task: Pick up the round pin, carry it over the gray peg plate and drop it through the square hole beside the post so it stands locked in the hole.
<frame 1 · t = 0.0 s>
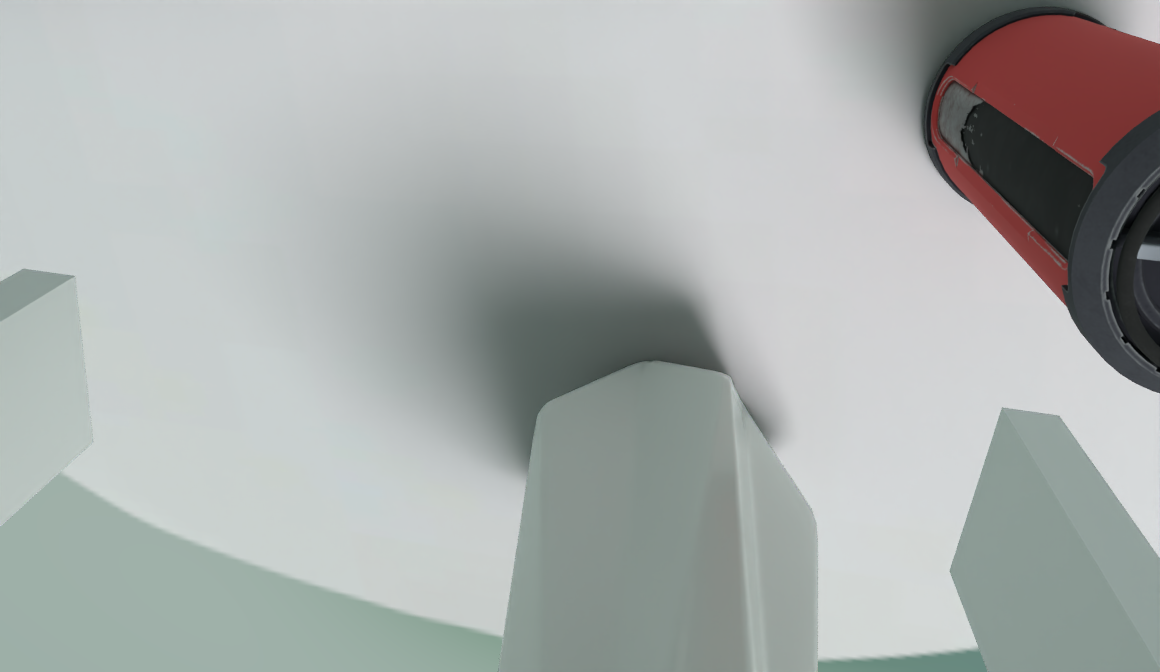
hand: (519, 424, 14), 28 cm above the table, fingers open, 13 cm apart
speaker: (1022, 108, 39), on the table
vase: (668, 424, 46), on the table
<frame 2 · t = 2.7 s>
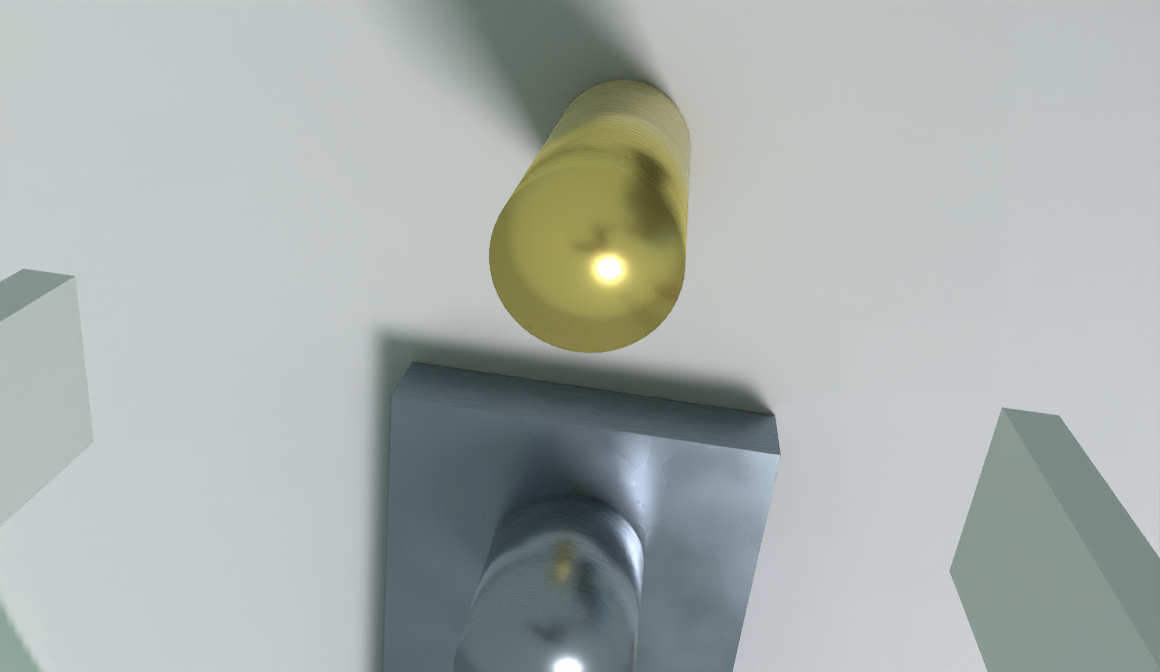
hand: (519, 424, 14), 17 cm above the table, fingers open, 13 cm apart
round pin: (622, 148, 29), on the table
gray peg plate: (576, 515, 35), on the table
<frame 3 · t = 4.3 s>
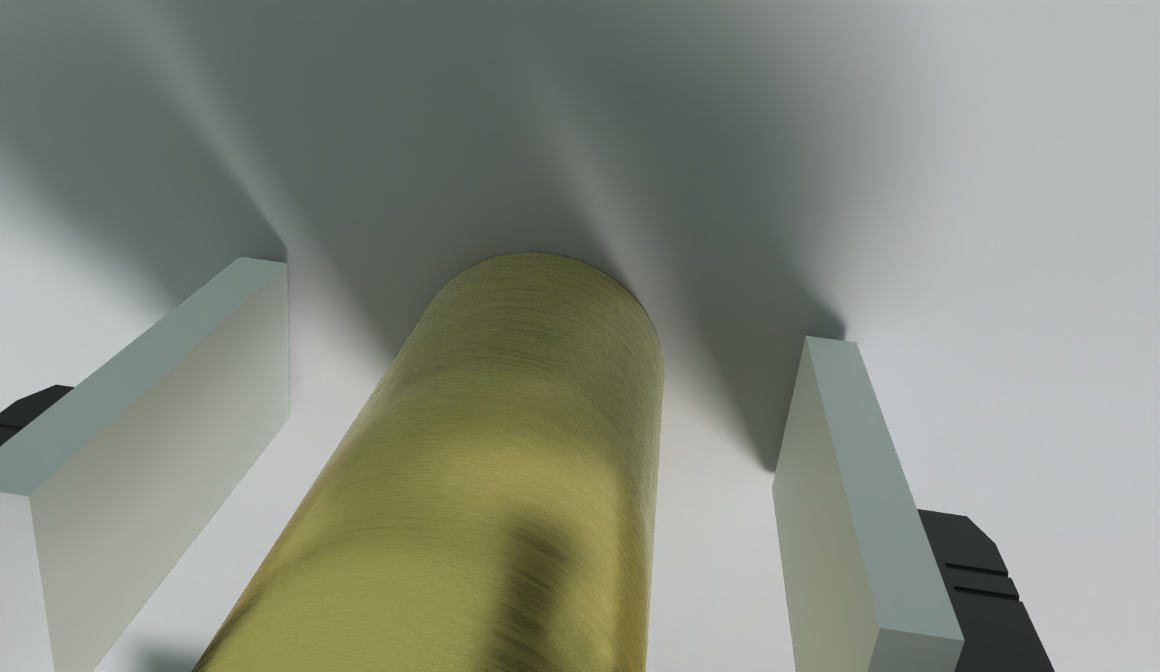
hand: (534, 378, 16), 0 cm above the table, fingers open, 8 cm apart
round pin: (537, 371, 16), on the table
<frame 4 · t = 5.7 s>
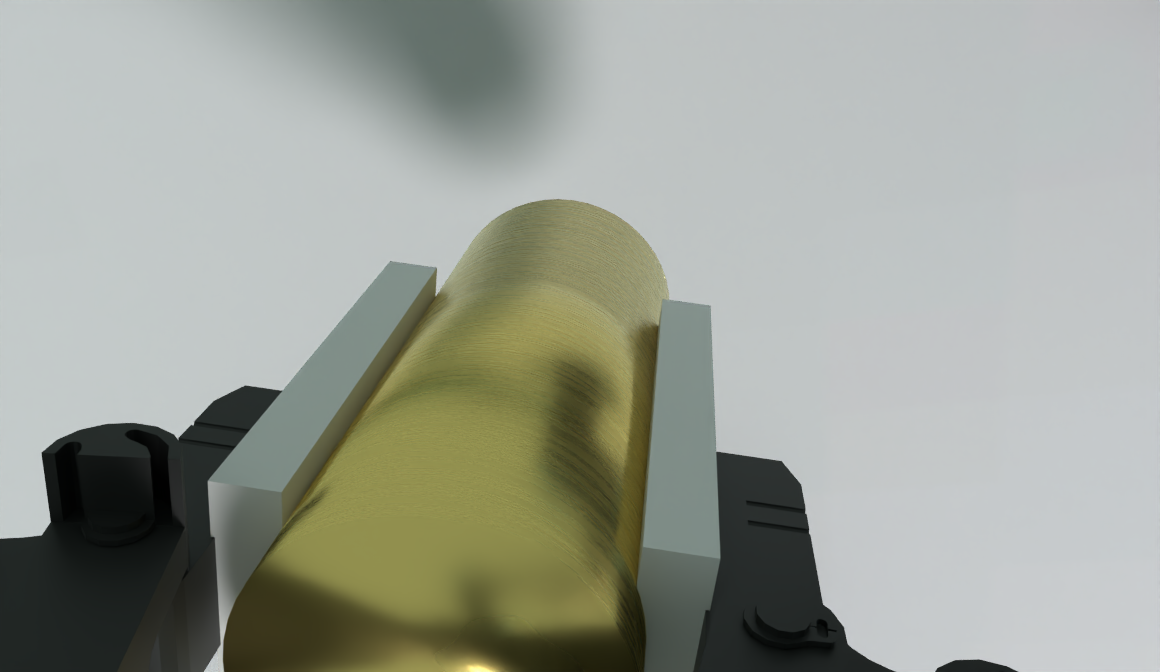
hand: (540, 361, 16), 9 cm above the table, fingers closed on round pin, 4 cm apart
round pin: (561, 303, 18), point 7 cm above the table, touching gripper
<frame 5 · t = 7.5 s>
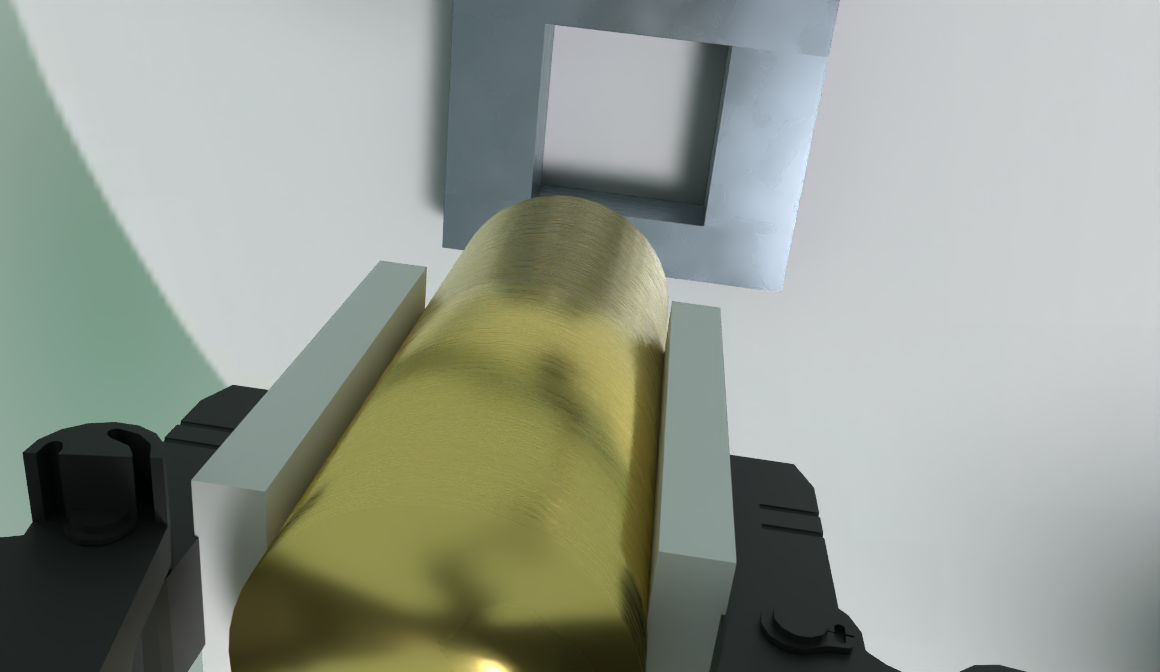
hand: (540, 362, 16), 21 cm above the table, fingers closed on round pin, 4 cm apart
round pin: (560, 299, 19), point 18 cm above the table, touching gripper
when the fingers open (4 cm above the table, at t = 9.7 s): round pin drops 1 cm, resting in gray peg plate.
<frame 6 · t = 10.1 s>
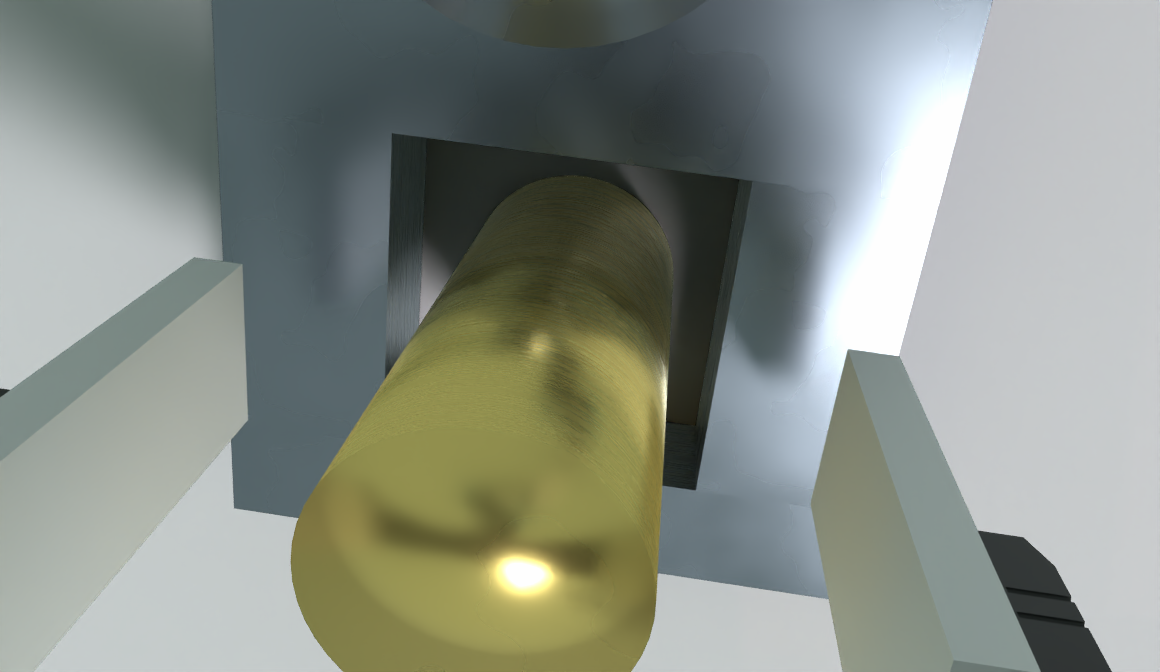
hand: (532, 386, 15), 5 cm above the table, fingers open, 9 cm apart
round pin: (572, 273, 20), resting in gray peg plate
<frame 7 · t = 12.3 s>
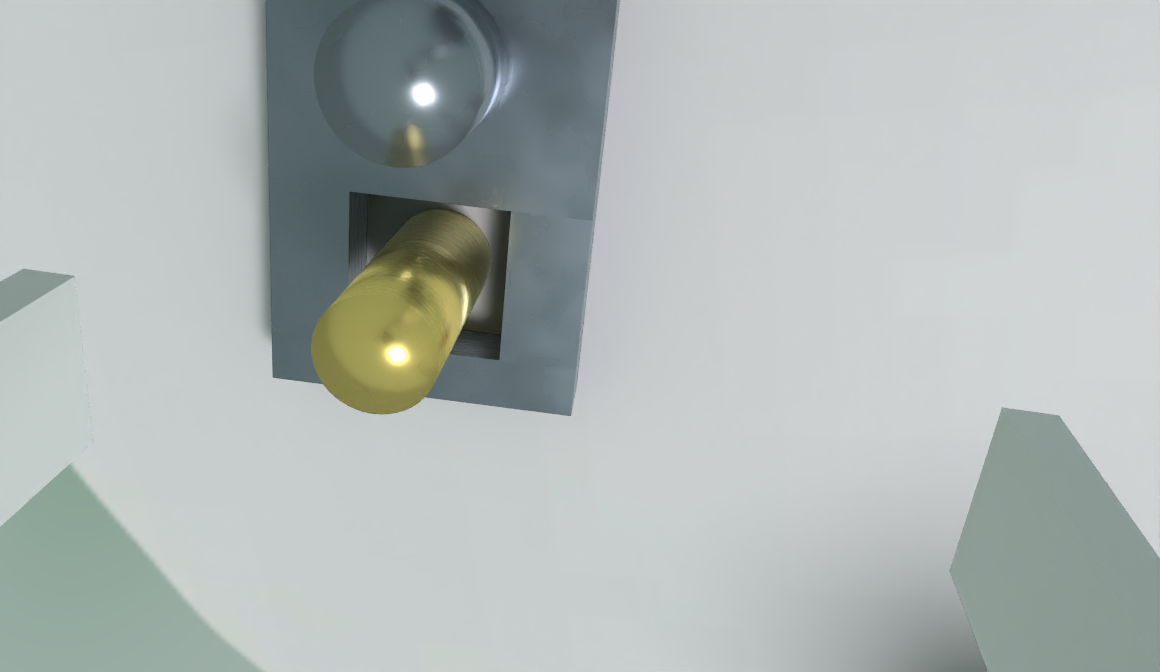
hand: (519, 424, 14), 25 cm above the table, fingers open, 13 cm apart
round pin: (442, 257, 40), resting in gray peg plate
gray peg plate: (450, 53, 37), on the table
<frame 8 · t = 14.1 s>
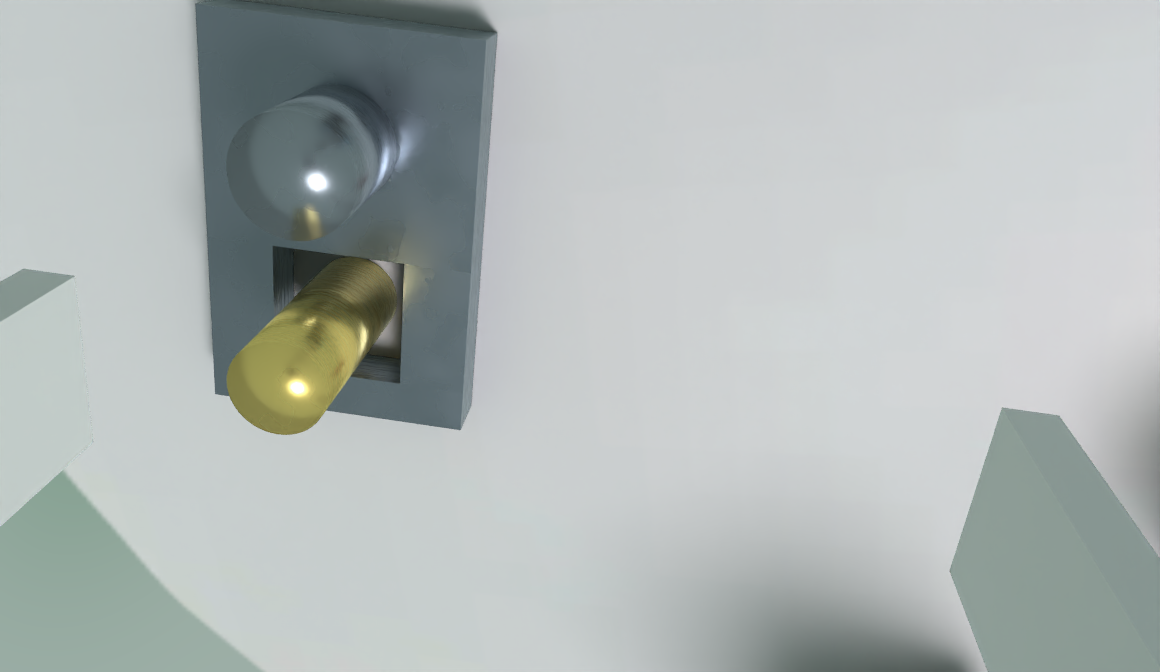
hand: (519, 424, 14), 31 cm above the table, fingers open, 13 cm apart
round pin: (356, 296, 48), resting in gray peg plate
gray peg plate: (357, 131, 44), on the table
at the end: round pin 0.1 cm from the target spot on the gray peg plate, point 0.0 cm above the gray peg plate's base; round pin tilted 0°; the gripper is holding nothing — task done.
